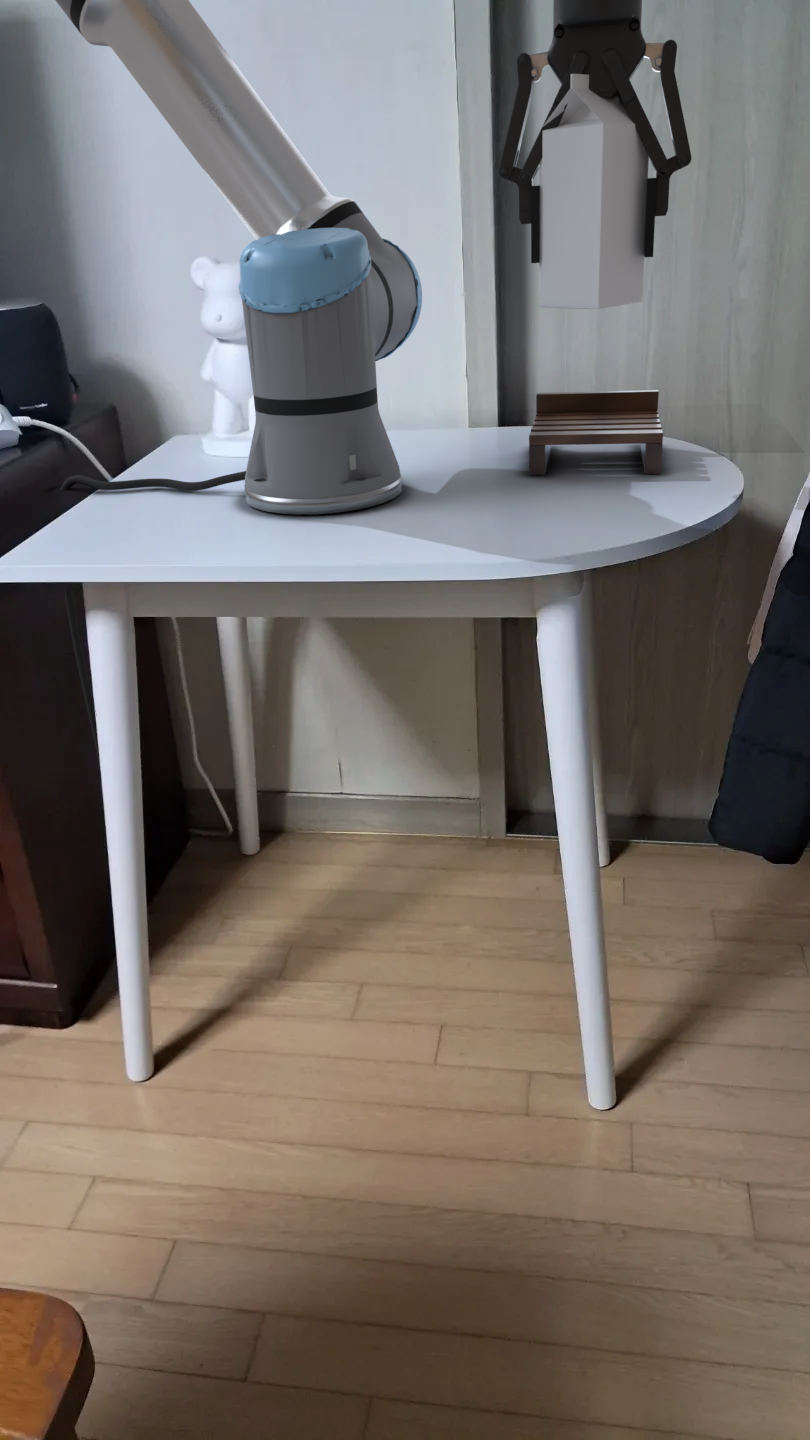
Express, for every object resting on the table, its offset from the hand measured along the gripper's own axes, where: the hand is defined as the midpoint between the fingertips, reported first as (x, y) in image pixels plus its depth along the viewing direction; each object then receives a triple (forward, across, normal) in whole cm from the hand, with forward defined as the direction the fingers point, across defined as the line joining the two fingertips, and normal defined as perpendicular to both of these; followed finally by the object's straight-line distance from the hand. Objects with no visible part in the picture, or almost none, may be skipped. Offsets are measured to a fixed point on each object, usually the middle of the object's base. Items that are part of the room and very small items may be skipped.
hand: (591, 259), depth 97 cm
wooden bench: (+20, +1, +3) cm, 20 cm away
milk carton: (+4, 0, 0) cm, 4 cm away
